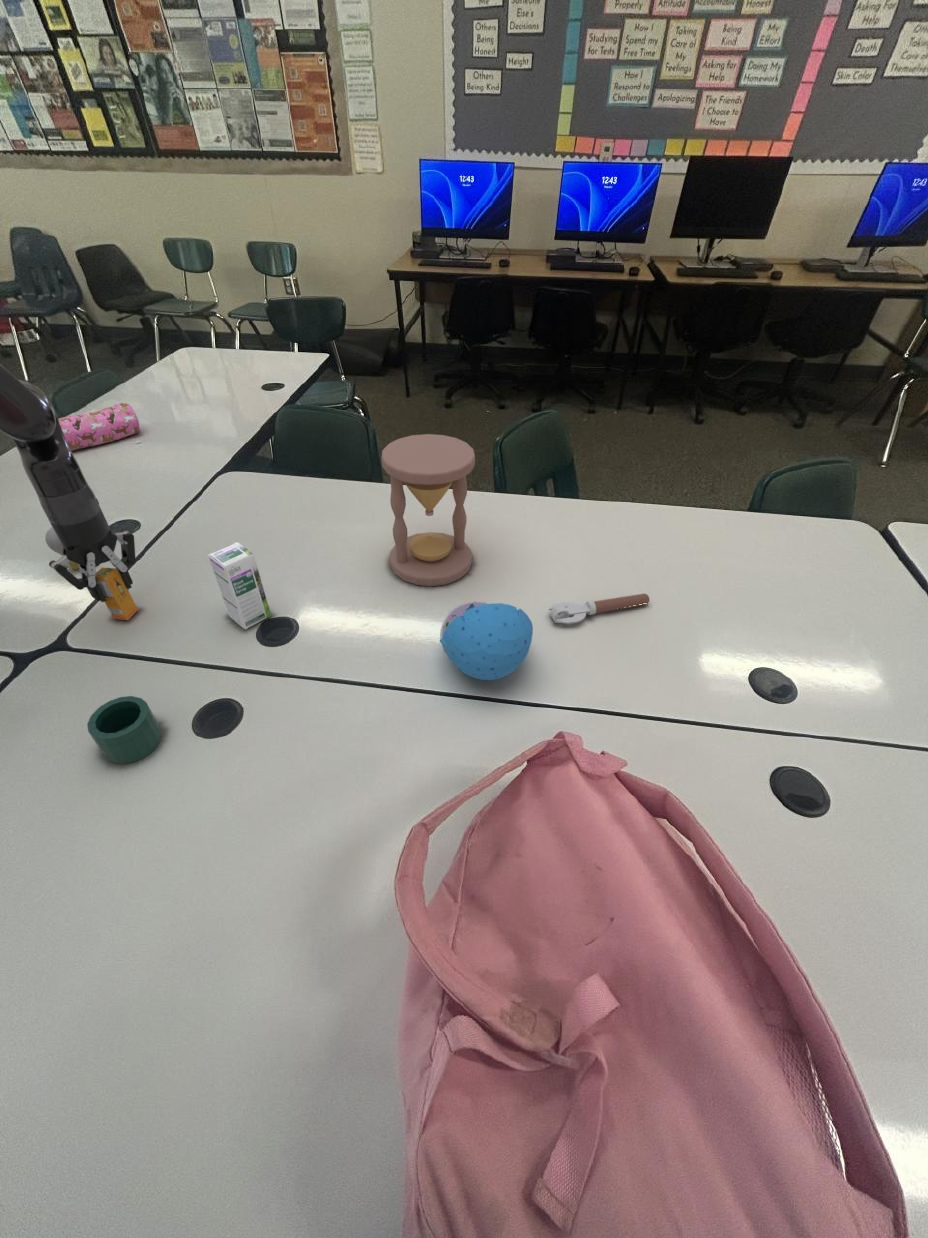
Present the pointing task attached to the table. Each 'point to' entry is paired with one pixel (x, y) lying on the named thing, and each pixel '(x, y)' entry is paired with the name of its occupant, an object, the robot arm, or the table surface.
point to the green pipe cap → (124, 729)
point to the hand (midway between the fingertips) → (114, 593)
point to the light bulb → (57, 545)
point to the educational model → (486, 639)
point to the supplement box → (115, 593)
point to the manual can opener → (593, 607)
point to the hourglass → (429, 506)
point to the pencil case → (99, 426)
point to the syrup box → (240, 584)
